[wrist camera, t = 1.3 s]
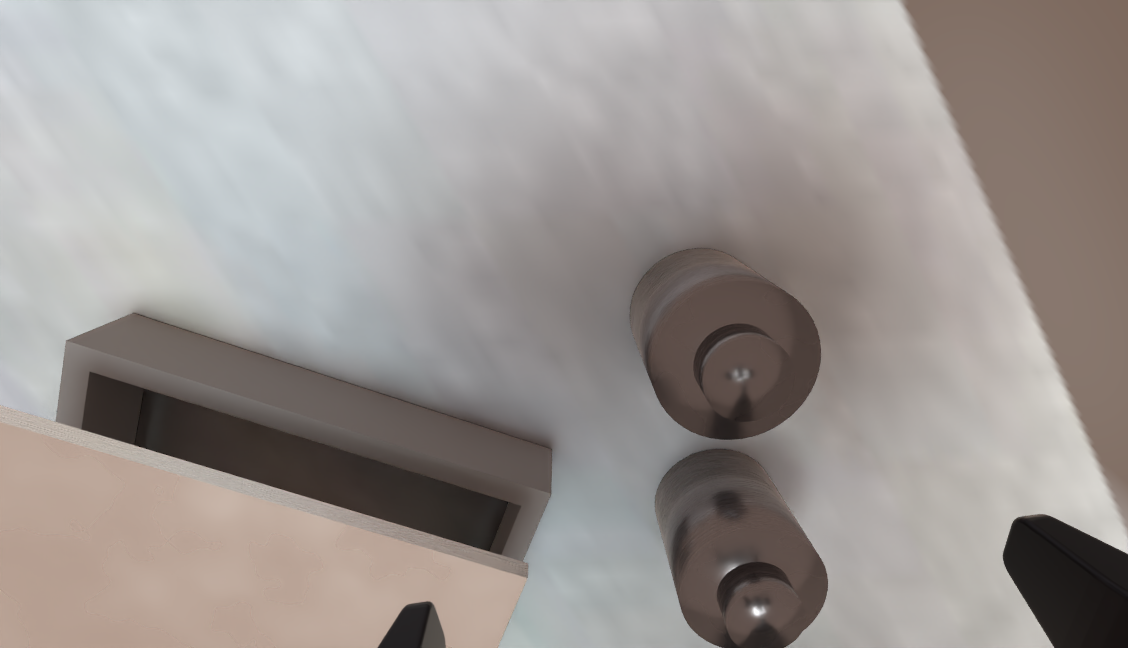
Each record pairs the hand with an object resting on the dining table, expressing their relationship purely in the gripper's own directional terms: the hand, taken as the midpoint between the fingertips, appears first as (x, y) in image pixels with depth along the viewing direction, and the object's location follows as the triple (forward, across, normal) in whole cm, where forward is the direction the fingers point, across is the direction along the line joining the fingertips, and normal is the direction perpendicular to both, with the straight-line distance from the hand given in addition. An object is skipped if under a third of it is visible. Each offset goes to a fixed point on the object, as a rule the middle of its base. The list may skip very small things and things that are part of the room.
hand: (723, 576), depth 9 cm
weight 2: (+11, -3, +10) cm, 15 cm away
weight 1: (+13, -3, +2) cm, 13 cm away
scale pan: (+9, +15, +9) cm, 20 cm away
